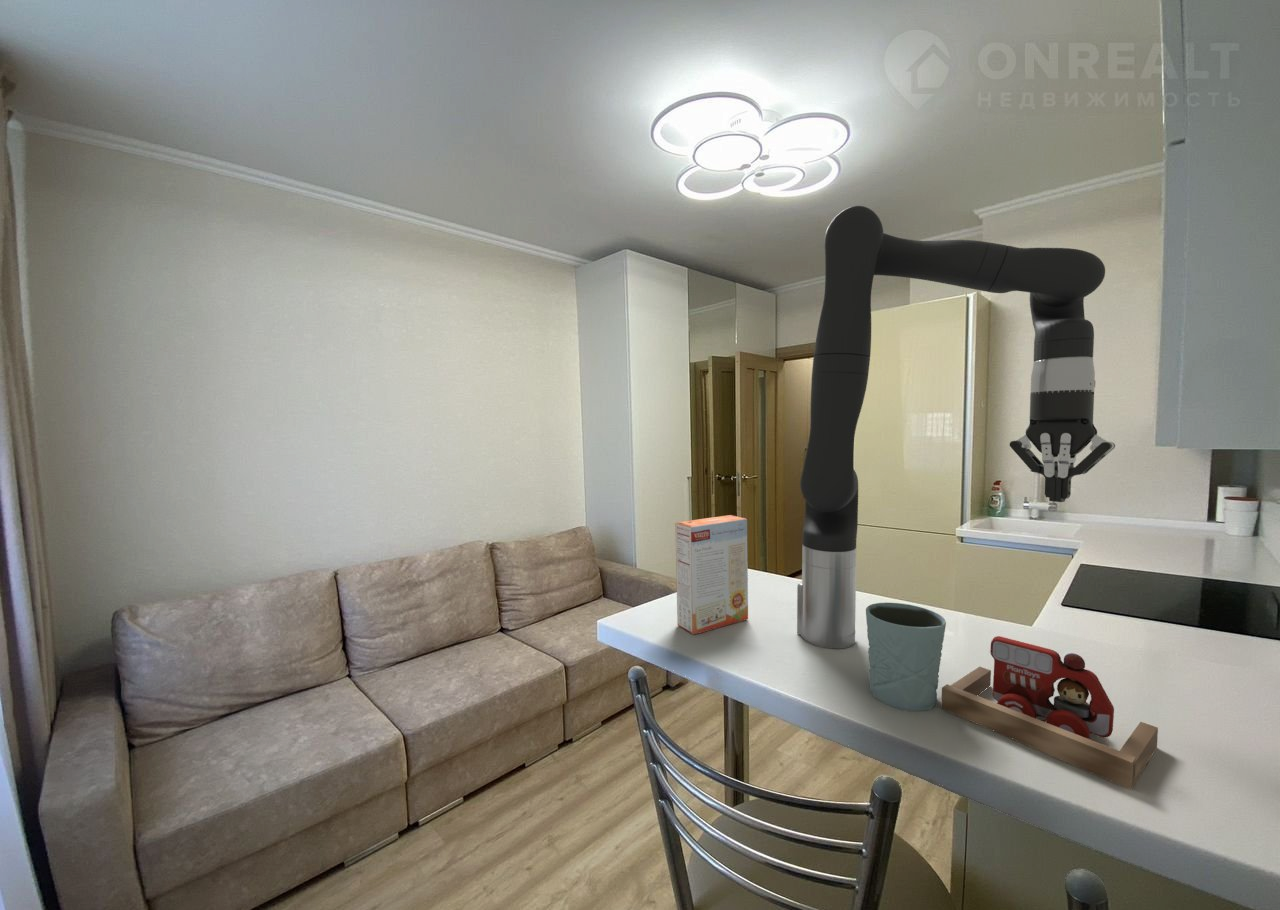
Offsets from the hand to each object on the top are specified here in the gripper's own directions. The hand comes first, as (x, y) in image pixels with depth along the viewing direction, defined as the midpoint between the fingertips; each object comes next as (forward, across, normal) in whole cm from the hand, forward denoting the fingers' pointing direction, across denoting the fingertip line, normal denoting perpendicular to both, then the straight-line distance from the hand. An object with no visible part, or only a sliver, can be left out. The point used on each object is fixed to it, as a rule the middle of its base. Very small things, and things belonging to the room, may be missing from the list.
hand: (1057, 501), depth 78 cm
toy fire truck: (+27, +5, -19) cm, 34 cm away
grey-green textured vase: (+27, -10, -26) cm, 39 cm away
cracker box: (+27, -46, -30) cm, 61 cm away
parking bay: (+27, +4, -20) cm, 34 cm away
